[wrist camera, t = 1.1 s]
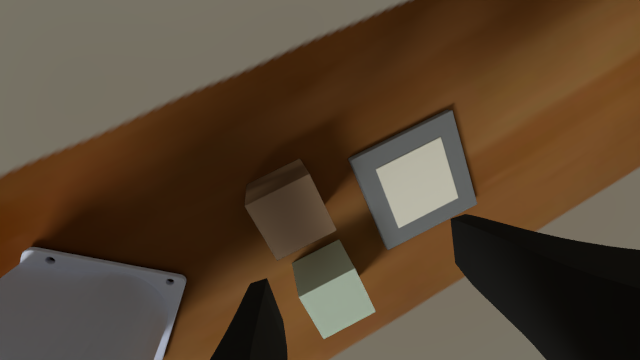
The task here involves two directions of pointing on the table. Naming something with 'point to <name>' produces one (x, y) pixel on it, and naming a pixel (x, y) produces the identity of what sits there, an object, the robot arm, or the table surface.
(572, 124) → the table surface
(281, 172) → the walnut block
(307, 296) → the sage block
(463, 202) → the grey flat square tile
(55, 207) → the table surface
